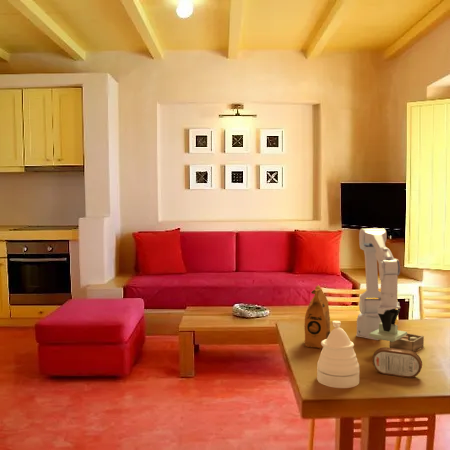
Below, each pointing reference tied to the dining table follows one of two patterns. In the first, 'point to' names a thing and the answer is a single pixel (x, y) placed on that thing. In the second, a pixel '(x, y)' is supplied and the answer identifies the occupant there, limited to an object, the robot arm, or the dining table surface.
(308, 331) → the coffee package
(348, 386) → the honey pot
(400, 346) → the crate
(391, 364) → the tin
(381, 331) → the lid
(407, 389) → the dining table surface
